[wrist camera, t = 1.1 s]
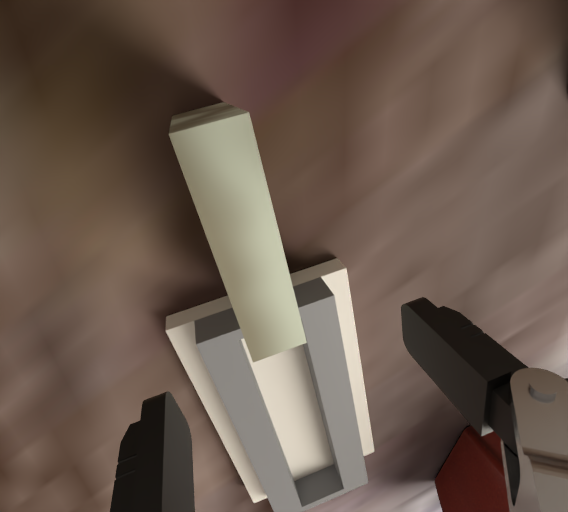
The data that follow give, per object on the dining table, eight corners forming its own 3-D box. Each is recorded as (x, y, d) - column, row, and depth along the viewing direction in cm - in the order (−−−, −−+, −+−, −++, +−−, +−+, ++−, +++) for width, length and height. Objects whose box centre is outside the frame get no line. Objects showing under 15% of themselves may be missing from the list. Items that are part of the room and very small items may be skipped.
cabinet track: (337, 258, 32) (362, 285, 28) (366, 437, 46) (386, 474, 41) (166, 316, 30) (164, 355, 25) (251, 486, 43) (259, 531, 39)
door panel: (223, 102, 24) (248, 112, 15) (270, 269, 31) (306, 342, 22) (172, 115, 23) (168, 134, 15) (231, 283, 30) (253, 362, 22)
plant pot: (458, 408, 48) (578, 548, 34) (550, 403, 55) (684, 518, 40) (407, 495, 56) (489, 642, 41) (494, 482, 62) (591, 604, 47)
